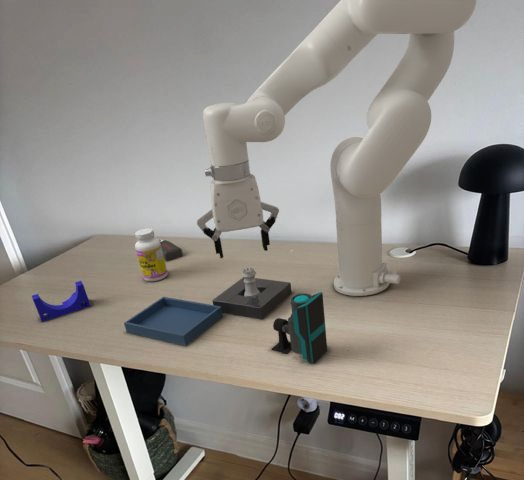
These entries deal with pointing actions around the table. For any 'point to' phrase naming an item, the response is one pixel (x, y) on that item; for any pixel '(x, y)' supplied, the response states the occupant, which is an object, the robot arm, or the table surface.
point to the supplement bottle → (150, 255)
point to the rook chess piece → (250, 283)
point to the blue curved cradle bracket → (70, 305)
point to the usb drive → (170, 250)
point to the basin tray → (174, 320)
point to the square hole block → (250, 306)
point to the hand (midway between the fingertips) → (243, 252)
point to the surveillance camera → (303, 328)
